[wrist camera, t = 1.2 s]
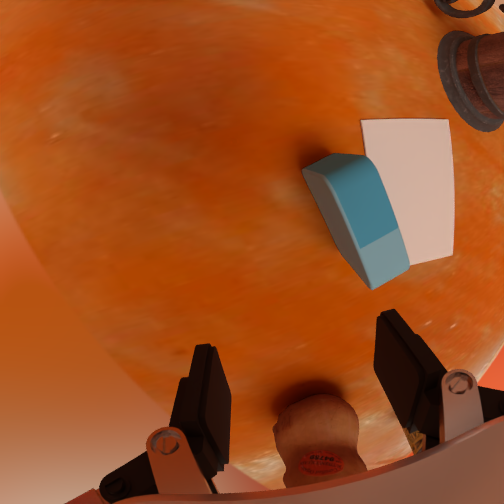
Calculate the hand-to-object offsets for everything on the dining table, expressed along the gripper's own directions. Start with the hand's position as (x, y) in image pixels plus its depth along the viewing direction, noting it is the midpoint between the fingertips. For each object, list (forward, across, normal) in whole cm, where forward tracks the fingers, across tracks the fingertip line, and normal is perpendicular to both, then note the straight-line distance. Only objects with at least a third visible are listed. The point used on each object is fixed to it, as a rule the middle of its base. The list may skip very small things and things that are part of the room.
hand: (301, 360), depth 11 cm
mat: (+26, -20, 0) cm, 33 cm away
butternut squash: (+26, -3, +34) cm, 43 cm away
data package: (+26, -9, 0) cm, 27 cm away
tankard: (+26, -35, -20) cm, 48 cm away
